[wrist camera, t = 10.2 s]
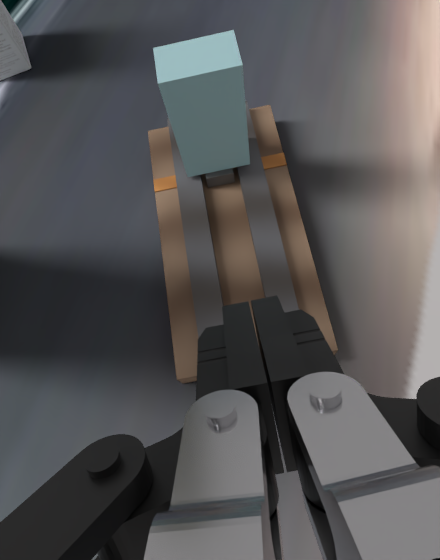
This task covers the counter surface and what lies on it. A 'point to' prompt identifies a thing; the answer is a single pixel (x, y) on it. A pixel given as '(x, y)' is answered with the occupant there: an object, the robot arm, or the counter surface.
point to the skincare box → (11, 47)
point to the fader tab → (206, 104)
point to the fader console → (231, 239)
